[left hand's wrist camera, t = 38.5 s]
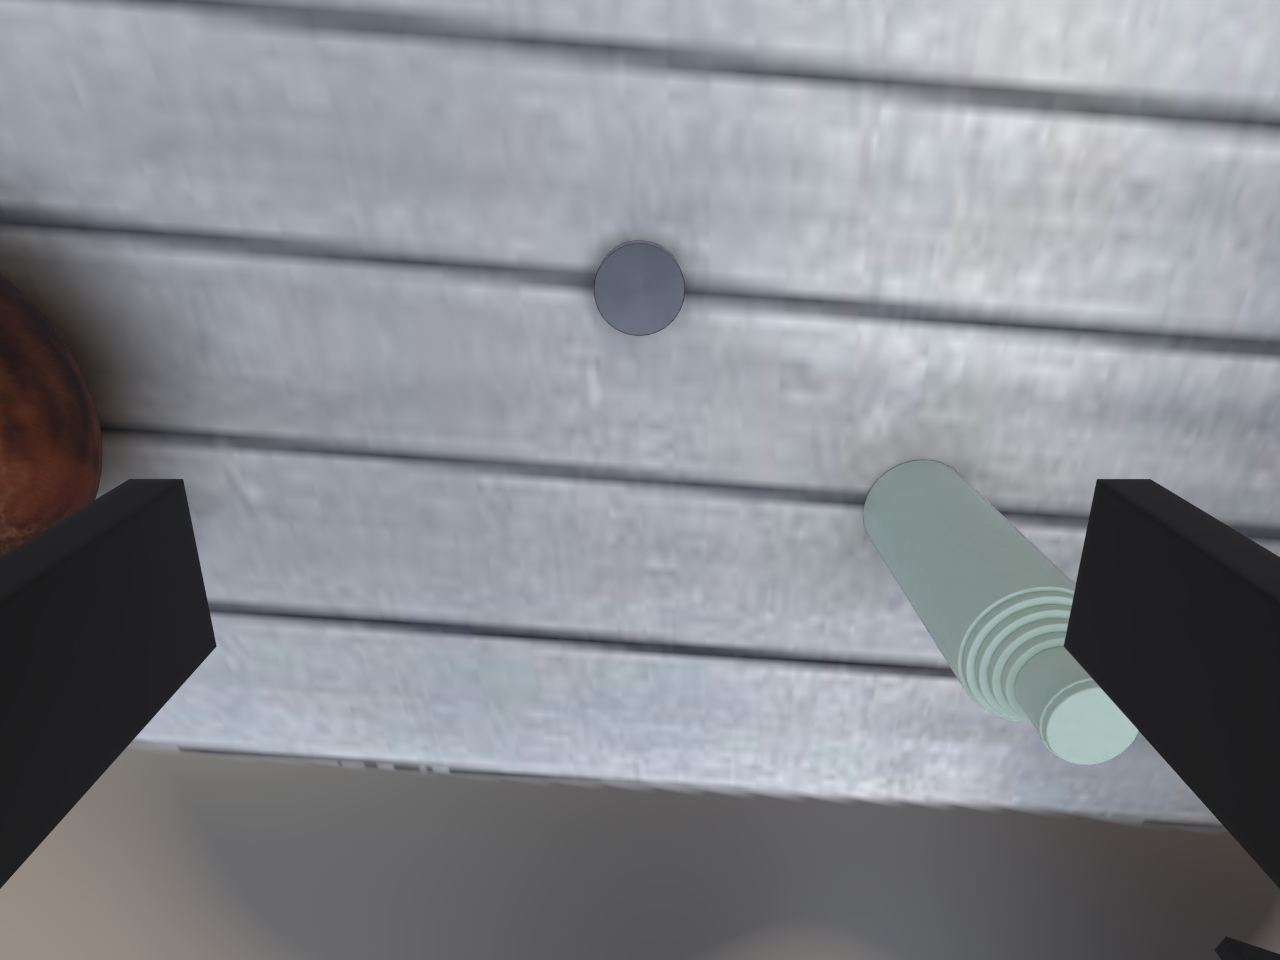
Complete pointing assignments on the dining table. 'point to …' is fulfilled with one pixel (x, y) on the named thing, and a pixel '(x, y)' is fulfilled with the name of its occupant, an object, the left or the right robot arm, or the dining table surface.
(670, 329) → the dining table surface
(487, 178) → the dining table surface
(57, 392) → the cat face balloon
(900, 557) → the bottle
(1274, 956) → the right robot arm
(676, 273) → the cap
